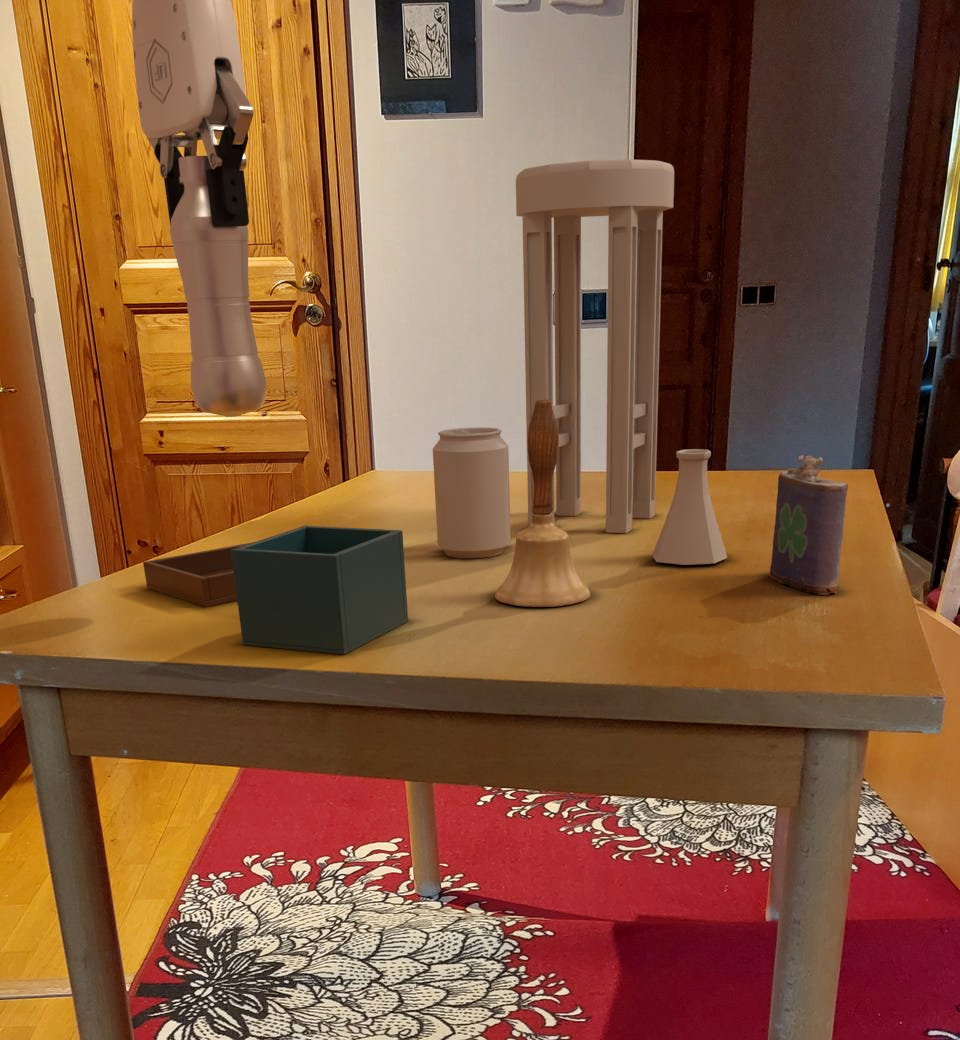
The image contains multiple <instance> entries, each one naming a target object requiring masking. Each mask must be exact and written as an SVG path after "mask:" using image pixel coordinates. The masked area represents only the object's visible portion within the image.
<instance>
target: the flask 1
mask: <svg viewBox="0 0 960 1040" xmlns="http://www.w3.org/2000/svg"><path fill="white" fill-rule="evenodd" d="M675 452H676V453H675V455H676V458H677V459H678V475H677V479H676V485H675V489H674V495H673V498H672V500H671V503H670V505H669V509H668V512H667V515H666V517H665V520H664V523H663V526H662V529H661V531H660V533H659V536H658V539H657V541H656V544H655V547H654V550H653V552H652V555H651V556H652V558H653V559H654V560H655V562H656V563H663V564H672V565H673V564H674V565H682V566H691V565H692V566H693V565H711V564H717V563H719V562H722V561H723V560H725V559H728V554H727V551H726V548H725V545H724V541H723V538H722V534H721V532H720V527H719V524H718V522H717V518H716V514H715V509H714V506H713V503H712V499H711V495H710V487H709V480H708V461H709V459H710V458H711V456H712V451H711V450H709V449H701V448H691V449H680V450H677V451H675Z"/></svg>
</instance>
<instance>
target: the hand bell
mask: <svg viewBox="0 0 960 1040" xmlns="http://www.w3.org/2000/svg"><path fill="white" fill-rule="evenodd" d="M558 449H559V434H558V427H557V423H556V419H555V416H554V413H553V409H552V404H551V400H537V401H536V402H535V407H534V411H533V415H532V418H531V421H530V425H529V429H528V457H529V463H530V467H531V470H532V474H533V480H534V494H533V504H534V506H533V514H532V523H531V525H530V526H529V527H526V528H525V529H522V530H521V531H519V532H518V533H517V534H516V536H515V546H514V554H513V559H512V563H511V567H510V569H509V573H508V574H507V577H506V578H505V579H504V582H502V584H501V585H500V586H498V587H497V589H496V591H495V594H494V598H495V600H496V601H498V602H500V603H502V604H506V605H513V606H518V607H527V608H529V607H530V608H531V607H533V608H544V607H548V608H549V607H563V606H569V605H570V606H571V605H574V604H579V603H581V602H584V601H586V600H588V599H590V597H591V591H590V589H589V587H588V585H586V584H585V583H583V581H582V580H581V578H580V576H579V575H578V573H577V571H576V569H575V566H574V563H573V559H572V554H571V547H570V539H569V534H568V533H567V532H566V531H565V530H563V529H561V528H559V527H558V526H557V525H556V524H555V525H554V524H553V522H552V513H551V512H552V511H553V507H552V478H553V473H554V474H555V471H556V462H557V457H558Z"/></svg>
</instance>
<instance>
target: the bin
mask: <svg viewBox="0 0 960 1040" xmlns="http://www.w3.org/2000/svg"><path fill="white" fill-rule="evenodd" d="M252 542H253V543H252ZM252 542H249V543H250V544H247V545H244V546H241V547H238V548H235V549H232V550H231V555H232V563H233V570H234V578H235V586H236V594H237V601H236V602H237V607H238V616H239V617H238V618H239V622H240V623H239V625H240V633H241V640H242V643H241V644H242V645H243V646H250V647H251V646H253V647H264V648H271V649H272V648H273V649H284V650H293V651H303V652H304V651H305V652H314V653H315V652H316V653H325V654H334V655H347V654H348V653H350V652H352V651H354V650H356V649H358V648H360V647H361V646H363V645H365V644H368V643H370V642H372V641H373V640H375V639H377V638H379V637H381V636H383V635H385V634H387V633H388V632H390V631H393V630H394V629H396V628H398V627H400V626H402V625H404V624H406V623H408V622H409V612H408V610H409V609H408V596H407V582H406V579H407V578H406V563H405V551H404V549H405V548H404V534H403V530H402V529H383V528H382V529H381V528H362V527H361V528H359V527H342V526H341V527H338V526H322V525H321V526H317V525H302V526H299V527H296V528H293V529H290V530H287V531H284V532H281V533H278V534H274V535H271V536H269V537H265V538H262V539H260V540H257V541H252Z"/></svg>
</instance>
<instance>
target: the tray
mask: <svg viewBox="0 0 960 1040" xmlns="http://www.w3.org/2000/svg"><path fill="white" fill-rule="evenodd" d="M253 542H254V541H252V542H247V543H240V544H236V545H235V544H234V545H230V546H224V547H219V548H214V549H208V550H207V549H206V550H203V551H196V552H191V553H185V554H179V555H173V556H168V557H163V558H156V559H152V560H145V561H142V564H143V570H144V571H143V572H144V577H145V583H146V589H148V590H151V591H154V592H156V593H157V592H158V593H161V594H164V595H167V596H170V597H172V598H177V599H180V600H182V601H185V602H189V603H192V604H195V605H197V606H198V605H199V606H202V607H204V608H208V607H212V606H217V605H221V604H226V603H231V602H237V594H236V586H235V578H234V570H233V563H232V555H231V550H232V549H235V548H238V547H241V546H244V545H247V544H250V543H253Z"/></svg>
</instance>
